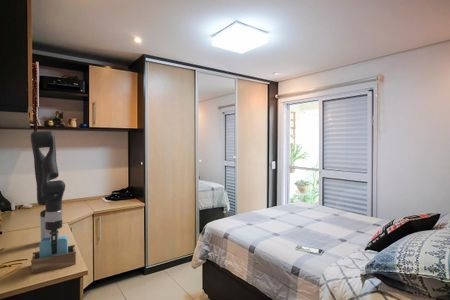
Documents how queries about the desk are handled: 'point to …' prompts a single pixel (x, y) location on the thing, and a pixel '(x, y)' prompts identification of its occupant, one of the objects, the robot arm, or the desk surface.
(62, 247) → the light blue flat block
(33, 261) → the crate
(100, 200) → the desk surface
